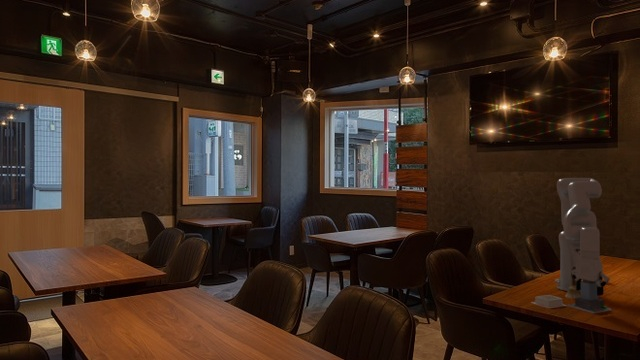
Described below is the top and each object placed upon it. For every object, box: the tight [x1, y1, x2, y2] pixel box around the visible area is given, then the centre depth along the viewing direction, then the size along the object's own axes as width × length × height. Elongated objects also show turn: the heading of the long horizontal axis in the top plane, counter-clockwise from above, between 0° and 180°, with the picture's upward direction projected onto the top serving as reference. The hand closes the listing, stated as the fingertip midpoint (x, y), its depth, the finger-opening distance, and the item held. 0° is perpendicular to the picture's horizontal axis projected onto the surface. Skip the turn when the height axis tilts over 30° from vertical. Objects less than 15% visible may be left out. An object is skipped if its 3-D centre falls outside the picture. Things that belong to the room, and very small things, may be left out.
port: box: [567, 297, 612, 314], centre depth 193 cm, size 12×12×5 cm
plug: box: [580, 279, 599, 301], centre depth 193 cm, size 4×6×12 cm, turn 113°
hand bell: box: [564, 267, 581, 300], centre depth 212 cm, size 8×8×16 cm
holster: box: [530, 294, 568, 309], centre depth 200 cm, size 10×12×4 cm
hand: (589, 292), depth 193 cm, fingers open, 9 cm apart
